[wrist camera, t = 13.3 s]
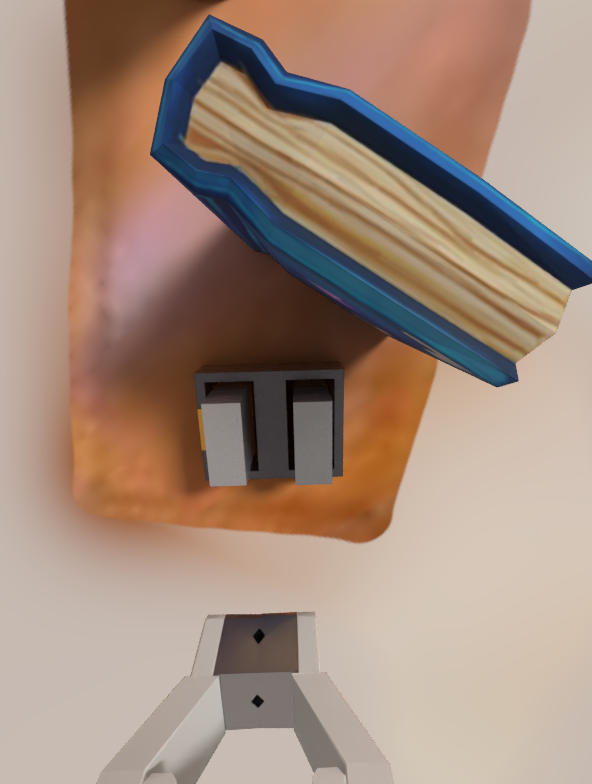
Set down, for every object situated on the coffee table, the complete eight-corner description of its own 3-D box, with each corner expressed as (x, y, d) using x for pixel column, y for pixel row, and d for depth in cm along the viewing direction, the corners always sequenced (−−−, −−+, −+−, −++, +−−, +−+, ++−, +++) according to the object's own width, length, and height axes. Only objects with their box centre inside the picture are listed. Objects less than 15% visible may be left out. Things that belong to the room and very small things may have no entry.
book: (225, 236, 38) (114, 147, 14) (256, 172, 37) (190, -48, 13) (389, 337, 42) (521, 402, 18) (425, 283, 40) (624, 273, 16)
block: (219, 381, 43) (201, 404, 34) (250, 380, 43) (240, 402, 34) (225, 448, 46) (209, 486, 37) (255, 448, 46) (246, 485, 37)
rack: (202, 366, 42) (180, 385, 34) (339, 362, 42) (351, 380, 34) (213, 466, 46) (194, 507, 37) (338, 462, 46) (349, 502, 37)
